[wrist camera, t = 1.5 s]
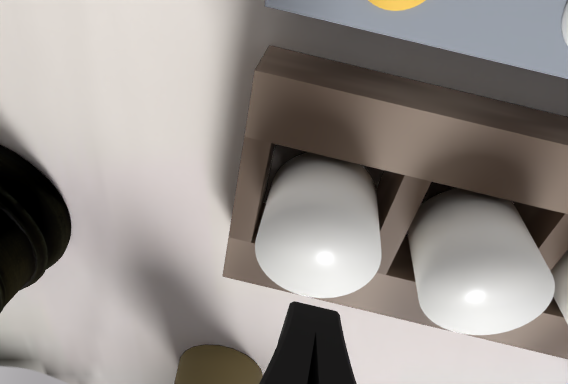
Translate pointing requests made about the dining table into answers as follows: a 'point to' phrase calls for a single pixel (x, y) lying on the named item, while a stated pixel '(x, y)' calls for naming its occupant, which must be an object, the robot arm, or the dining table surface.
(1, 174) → the container
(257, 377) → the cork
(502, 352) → the dining table surface
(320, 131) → the button board
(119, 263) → the dining table surface
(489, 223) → the middle button
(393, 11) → the pattern card
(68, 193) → the dining table surface
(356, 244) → the left button
